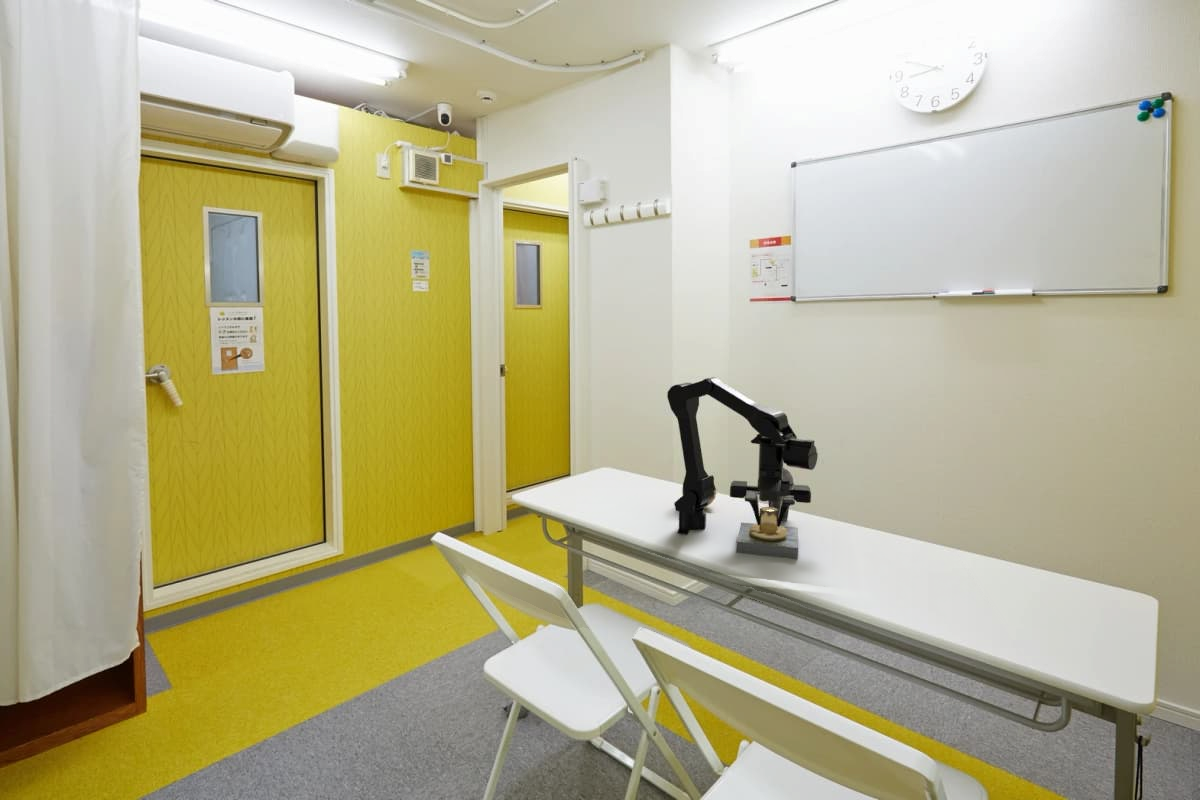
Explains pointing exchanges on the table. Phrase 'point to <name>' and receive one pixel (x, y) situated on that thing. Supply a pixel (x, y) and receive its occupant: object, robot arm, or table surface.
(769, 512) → the end cover
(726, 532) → the table surface
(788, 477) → the beverage cup
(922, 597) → the table surface
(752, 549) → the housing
